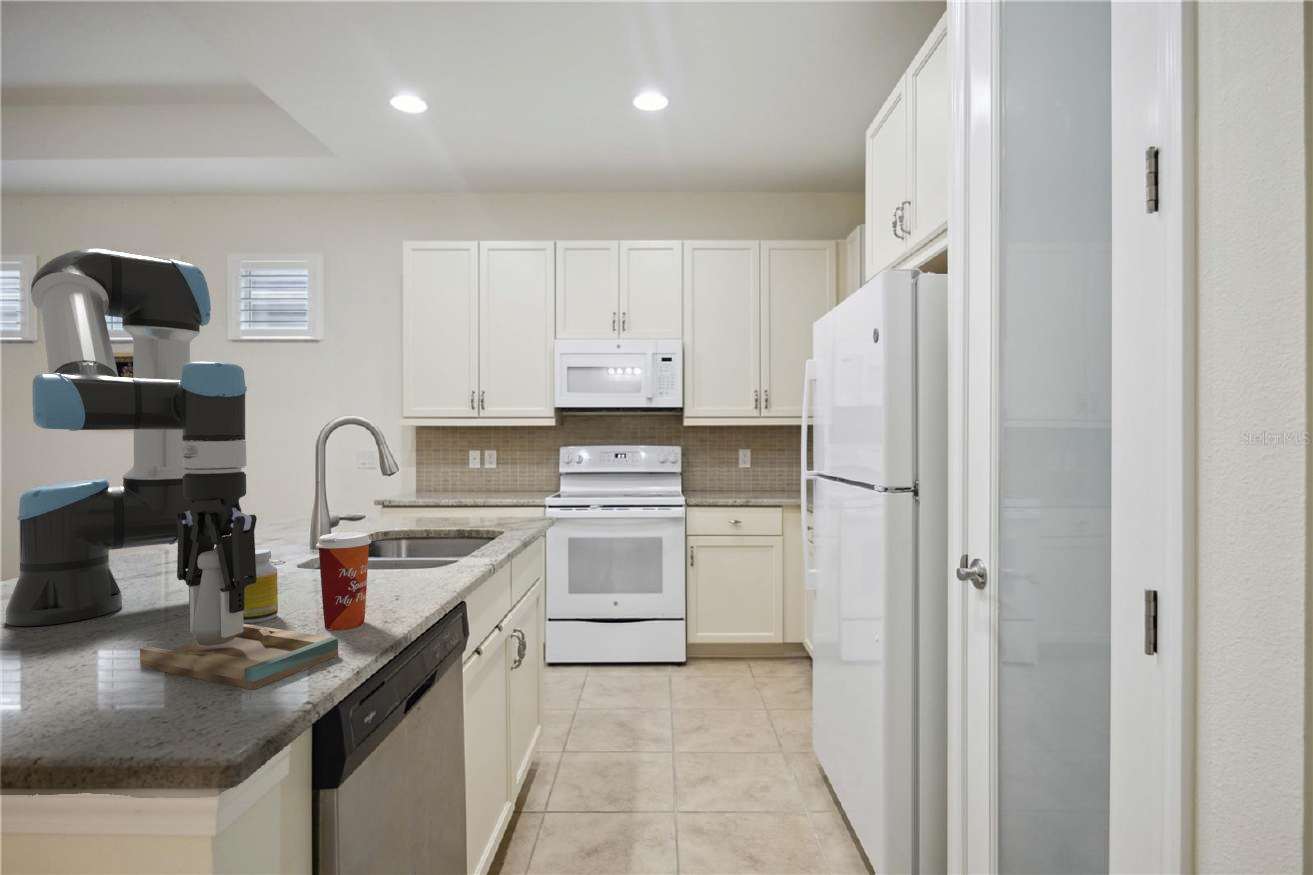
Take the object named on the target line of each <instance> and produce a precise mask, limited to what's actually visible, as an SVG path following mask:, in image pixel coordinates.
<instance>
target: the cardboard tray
mask: <svg viewBox="0 0 1313 875" xmlns="http://www.w3.org/2000/svg"><path fill="white" fill-rule="evenodd" d="M336 657H339V638H337V637H332V636H331V637H330V636H324V635H317V634H311V633H305V632H299V631H292V630H288V629H287V630H286V629H280V628H279V629H278V628H274V627H268V626H267V627H266V626H260V625H254V624H249V623H243V632H242V633H239V634H236V635H235V638H234V640H232V641H229V642H227V643H224V644H219V645H212V646H205V645H199V643H198V641H196V642H194V643H190V644H186V645H183V646H179V647H177V648H174V649H164V648H159V647H154V646H148V645H147V646H145V647H144V646H143V647H141V648H139V667H141V668H145V669H149V670H154V671H159V672H164V673H169V674H174V675H179V676H184V677H189V678H194V679H199V680H204V681H208V682H213V683H216V684H217V683H218V684H223V685H227V686H233V687H237V688H241V689H247V690H253V691H254V690H257V689H259V688H261V687H264V686H266V685H269V684H271V683H274V682H276V681H279V680H281V678H282V679H283V678H287V677H288V676H291V675H293V673H294V674H296V673H299V672H301V671H304V670H306V669H308V668H311V667H314V666H316V665H319V664H321V663H324V662H325V661H328V660H331V659H333V658H336ZM303 669H304V670H303Z"/></svg>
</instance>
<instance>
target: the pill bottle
mask: <svg viewBox="0 0 1313 875" xmlns="http://www.w3.org/2000/svg"><path fill="white" fill-rule="evenodd" d="M255 558H256V583H254V584H250V585H248V586H246V587H245V589H244V603H245V607H244V611H243V624H254V623H261V622H267V621H270V620H272V619H274V618H275V617H276V616H277V615H278V612H279V611H278V610H279V609H278V608H279V604H278V602H279V601H278V600H279V599H278V595H279V594H278V592H279V591H278V568H277V566H276V565H275V564H273V563H271V562H270V559H272V550H271V549H264V548H263V549H260V548H259V549H255ZM246 577H247V576H246ZM233 581H234V579H233Z"/></svg>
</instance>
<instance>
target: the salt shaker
mask: <svg viewBox="0 0 1313 875" xmlns="http://www.w3.org/2000/svg"><path fill="white" fill-rule="evenodd" d="M197 563H198V568H199V569H202V570H203V572H202V577H201V582H200V588H199V593H198V598H197V604H196V609H195V614H194V620H193V625H192V632H191V633H192V634H193V636H194V638H195V640H196V642H198V643H199V645H205V646H212V645H219V644H224V643H227V642H229V641H232V640H234V638H235V635H236V634H235V635H232V636H229V637H226V638H223V637H221V590H220V589H221V588H224V587H225V584H224V579H223V575H222V570H221V565H220V560H219V556H218V551H217V550H211V551H207V552H204V553H201V554H200V555H199V557H198V561H197Z"/></svg>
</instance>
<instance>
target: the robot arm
mask: <svg viewBox="0 0 1313 875" xmlns="http://www.w3.org/2000/svg"><path fill="white" fill-rule="evenodd" d="M30 295H31V301H32V303H33V306H34V307H35V308H36V310H37V312H39V313H40V314H41V315H42V324H43V332H44V339H45V340H44V343H45V350H46V351H45V352H46V357H47V358H46V359H47V367H48V368H47V369H48V370H47V371H48V373H47V374H45V373H44V374H38V375H35V377H34V378H33V379H32V390H31V391H32V392H31V393H32V395H31V396H32V398H31V399H32V401H31V402H32V419H33V423H34V424H35V425H36V426H37V427H38V428H41V429H45V430H68V431H71V432H72V431H73V432H74V431H101V430H103V431H104V430H112V431H113V430H133V466H132V468H130V469H129V470H128V471H127V472H125V473H124V474H123V476H122V477H123V479H122V480H123V481H122V483H123V484H122V485H112V486H110V482H109V481H108V479H106V478H93V479H87V480H86V479H84V480H76V481H68V482H62V483H61V482H60V483H56V484H50V485H43V486H39V487H35V488H30V489H28V490H26V491H25V492H24V493H22V495H20V498H19V507H18V515H17V517H16V519H17V521H19V576H18V579H17V581H16V584H15V586H14V589H13V590H12V594H11V596H10V598H9V600H8V602H7V606H6V609H5V623H6V624H7V625H8V626H14V627H15V626H16V627H36V626H38V627H39V626H49V625H56V624H63V623H66V624H67V623H71V622H77V621H83V620H86V619H88V620H89V619H92V618H96V617H100V616H104V615H107V614H110V613H113V612H116V611H118V610H120V609H121V608H122V606H123V596H122V591H121V589H120V587H119V585H118V583H117V581H116V578H115V576H114V573H113V571H112V569H111V568H110V551H114V550H121V549H130V548H132V549H133V548H142V547H149V546H151V547H152V546H160V545H171V546H173V545H174V544H177V558H176V559H177V561H176V562H177V563H176V567H177V568H176V577H177V579H178V581H184V582H185V584H186V586H188V598H189V600H188V603H189V620H190V623H189V624H190V626H189V632H190V633H193V632H192V625H193V620H194V614H195V609H196V604H197V598H198V593H199V588H200V582H201V577H202V572H203V570H202V569H199V568H198V563H197V561H198V557H199V555H200V554H201V553H204V552H207V551H211V550H214V548H215V547H216V546H217V551H218V556H219V560H220V565H221V570H222V575H223V579H224V584H225V587H224V588H221V589H220V590H221V637H223V638H226V637H229V636H232V635H235V634H239V633H242V632H243V624H244V623H243V611H244V607H245V603H244V589H245V587H246V586H248V585H250V584H254V583H256V558H255V550H256V542H255V539H256V538H255V529H256V524H257V518H258V517H257V515H256V514H245V513H244V512H242V508H241V505H240V499H241V498H243V497H245V496H246V494H247V473H245V471H242V469H243V468H246V467H247V440H246V392H247V388H248V387H247V386H246V380H245V370H244V368H243V367H242V366H241V365H239V364H236V363H235V364H234V363H228V362H217V361H216V362H215V361H191V342H192V341H194V339H195V338H196V337H198V336H199V335H200V334H201V332H200V326H201V327H204V326H207V325H208V324H210V321H211V306H212V305H211V298H210V297H211V296H210V290H209V287H208V283H207V280H206V277H205V275H204V273H203V272H202V269H200V268H199V267H198V266H197V265H195V264H192V263H187V262H184V261H179V260H174V259H172V258H164V257H163V258H162V257H155V256H148V255H140V254H135V253H134V254H133V253H126V252H118V251H111V250H108V249H103V248H85V249H78V250H73V251H69V252H65V253H63V254H61V255H57V256H56V257H54V258H52V259H51V260H49V261H47V262H46V263H45V264H43V266H41V267H40V268H39V269H38V270H37V272H36V273H35V275H34V276H33V278H32V282H31V286H30ZM107 316H108V317H115V318H121V319H122V322H121V323H122V329H123V330H124V331H125V332H126V333H127V334H129V335H130V336H131V338H132V343H133V344H132V348H133V349H132V352H133V354H132V356H133V357H132V358H133V360H132V361H133V362H132V363H133V365H132V366H133V369H132V370H133V371H132V372H133V374H132V376H133V377H122V376H119V373H118V369H117V363H116V359H115V355H114V350H113V347H112V342H111V338H110V334H109V329H108V328H109V327H108V325H107V320H106V317H107ZM246 576H247V577H246ZM233 579H234V581H233Z"/></svg>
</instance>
